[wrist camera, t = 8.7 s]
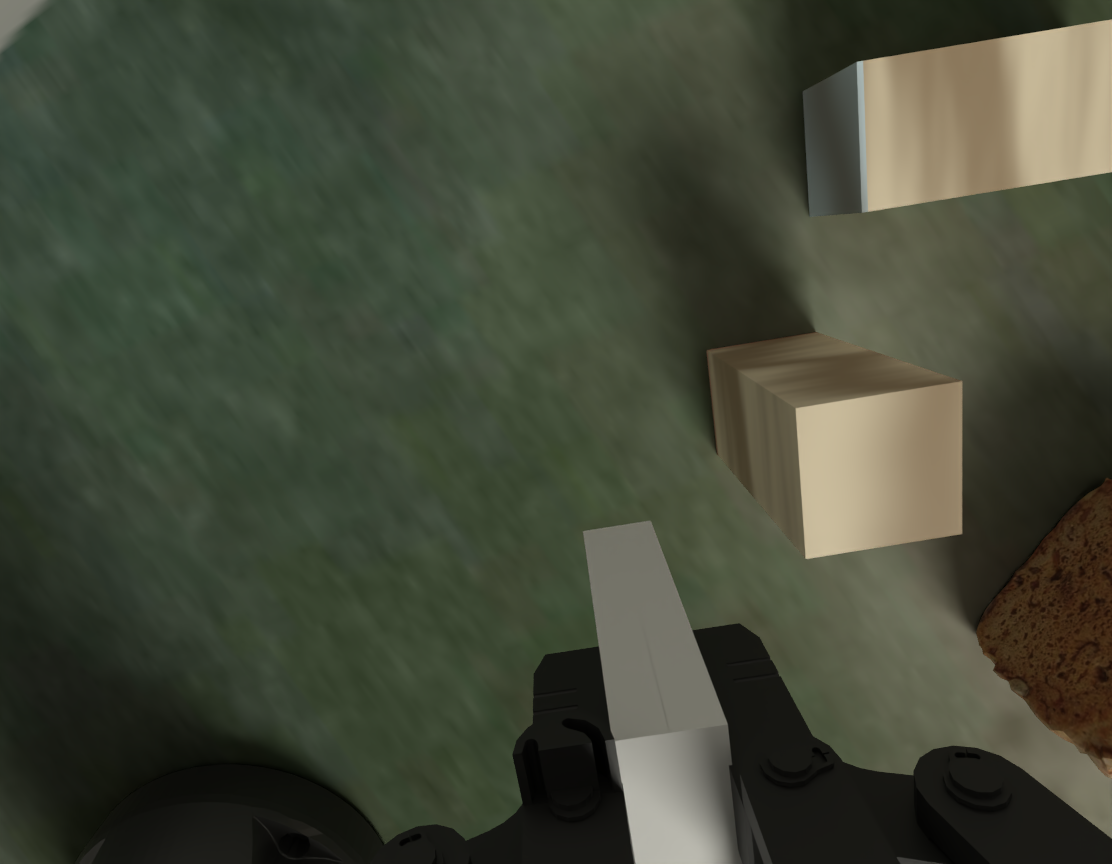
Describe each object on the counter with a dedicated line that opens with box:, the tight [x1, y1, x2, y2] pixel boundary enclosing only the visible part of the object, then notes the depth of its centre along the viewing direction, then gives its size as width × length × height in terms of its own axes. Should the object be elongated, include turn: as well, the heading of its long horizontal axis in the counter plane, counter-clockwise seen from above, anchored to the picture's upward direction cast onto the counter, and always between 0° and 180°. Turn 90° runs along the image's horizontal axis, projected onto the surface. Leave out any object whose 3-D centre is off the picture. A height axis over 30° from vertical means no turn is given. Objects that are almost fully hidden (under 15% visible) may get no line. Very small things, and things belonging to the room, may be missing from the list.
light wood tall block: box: [706, 332, 962, 559], centre depth 24 cm, size 4×4×10 cm
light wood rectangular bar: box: [803, 20, 1112, 217], centre depth 24 cm, size 4×4×10 cm
